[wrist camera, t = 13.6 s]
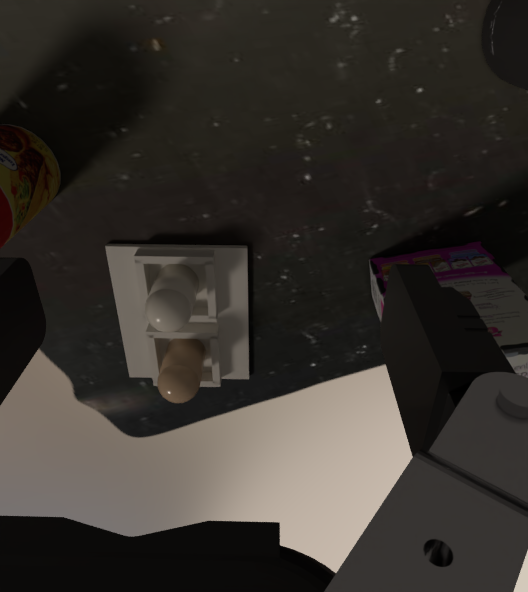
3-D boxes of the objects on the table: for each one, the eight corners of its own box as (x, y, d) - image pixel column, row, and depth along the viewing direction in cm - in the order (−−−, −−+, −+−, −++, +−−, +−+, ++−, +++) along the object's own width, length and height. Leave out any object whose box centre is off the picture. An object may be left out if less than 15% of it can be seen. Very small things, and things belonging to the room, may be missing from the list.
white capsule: (197, 263, 48) (187, 302, 42) (200, 300, 51) (190, 342, 45) (154, 262, 48) (136, 301, 42) (158, 299, 51) (142, 341, 45)
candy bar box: (371, 299, 51) (407, 413, 37) (367, 257, 48) (404, 364, 35) (480, 282, 50) (560, 394, 36) (482, 238, 47) (570, 341, 33)
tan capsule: (204, 335, 53) (195, 380, 47) (207, 366, 56) (198, 412, 49) (165, 335, 53) (150, 379, 47) (168, 365, 56) (155, 411, 50)
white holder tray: (247, 245, 48) (246, 255, 46) (249, 375, 57) (248, 388, 55) (106, 243, 48) (100, 253, 46) (130, 373, 57) (126, 386, 55)
